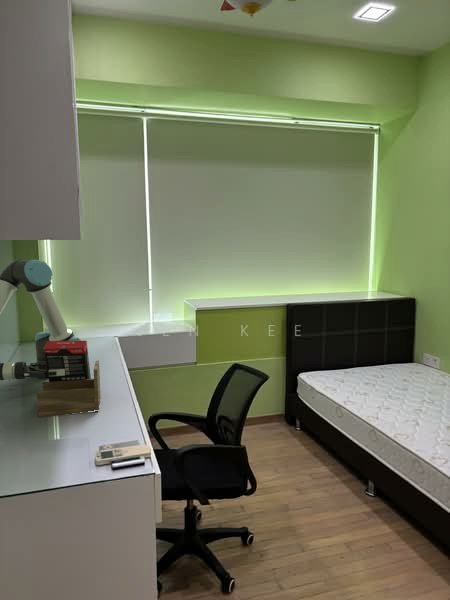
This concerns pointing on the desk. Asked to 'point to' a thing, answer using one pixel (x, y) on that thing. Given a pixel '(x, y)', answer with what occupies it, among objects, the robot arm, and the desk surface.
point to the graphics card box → (67, 359)
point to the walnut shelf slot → (70, 396)
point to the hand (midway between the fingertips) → (67, 367)
